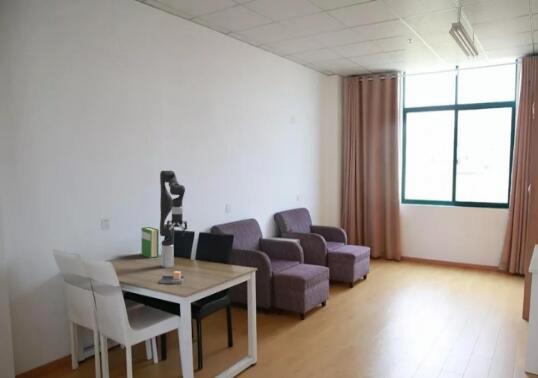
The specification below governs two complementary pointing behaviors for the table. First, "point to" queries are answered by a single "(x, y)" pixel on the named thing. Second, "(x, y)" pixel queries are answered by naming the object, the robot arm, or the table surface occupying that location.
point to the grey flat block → (170, 280)
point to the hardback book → (150, 242)
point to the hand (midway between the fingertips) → (176, 235)
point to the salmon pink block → (177, 275)
